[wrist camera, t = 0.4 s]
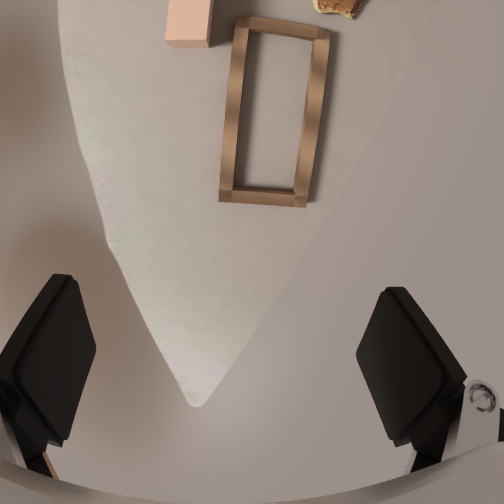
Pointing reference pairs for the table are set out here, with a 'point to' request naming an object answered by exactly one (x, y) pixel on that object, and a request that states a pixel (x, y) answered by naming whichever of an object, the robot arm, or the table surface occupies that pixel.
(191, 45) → the pink rectangular block
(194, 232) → the table surface
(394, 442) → the robot arm
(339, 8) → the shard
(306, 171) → the brown wooden frame
